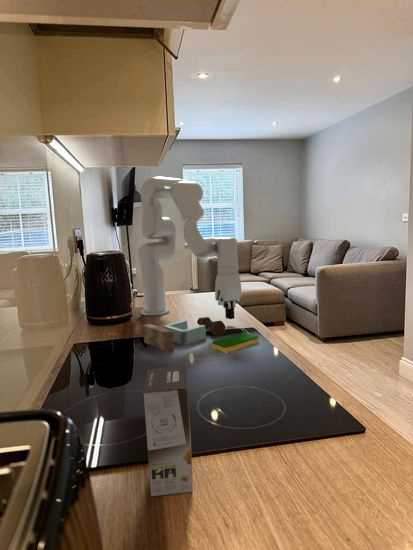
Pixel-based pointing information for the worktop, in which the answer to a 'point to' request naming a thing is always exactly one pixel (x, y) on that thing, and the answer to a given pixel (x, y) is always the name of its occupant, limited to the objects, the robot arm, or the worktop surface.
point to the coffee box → (168, 430)
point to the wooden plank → (159, 337)
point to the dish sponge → (234, 342)
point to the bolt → (212, 326)
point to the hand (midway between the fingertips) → (230, 318)
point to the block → (186, 332)
